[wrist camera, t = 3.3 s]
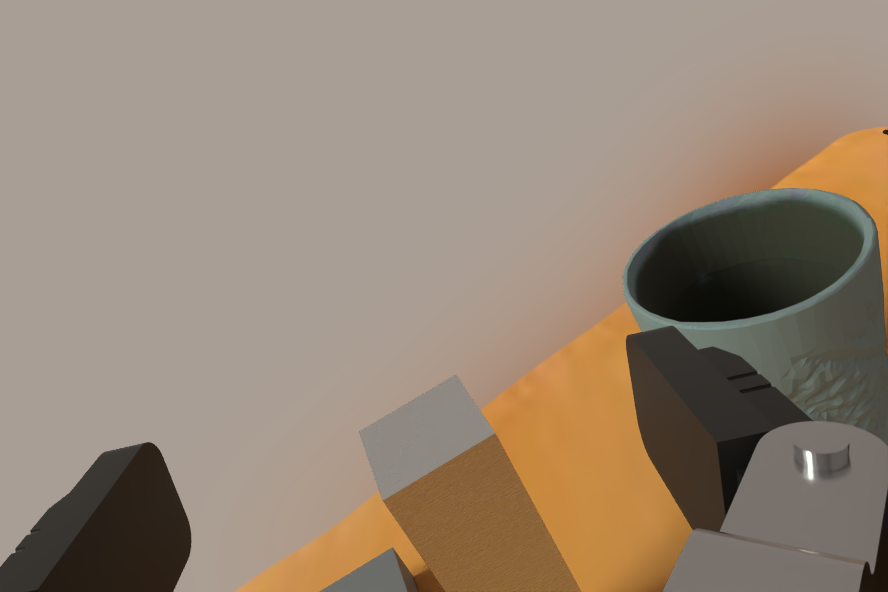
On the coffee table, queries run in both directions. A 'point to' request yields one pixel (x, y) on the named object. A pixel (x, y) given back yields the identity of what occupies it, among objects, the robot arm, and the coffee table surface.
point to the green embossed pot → (777, 296)
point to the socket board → (377, 576)
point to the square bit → (462, 497)
